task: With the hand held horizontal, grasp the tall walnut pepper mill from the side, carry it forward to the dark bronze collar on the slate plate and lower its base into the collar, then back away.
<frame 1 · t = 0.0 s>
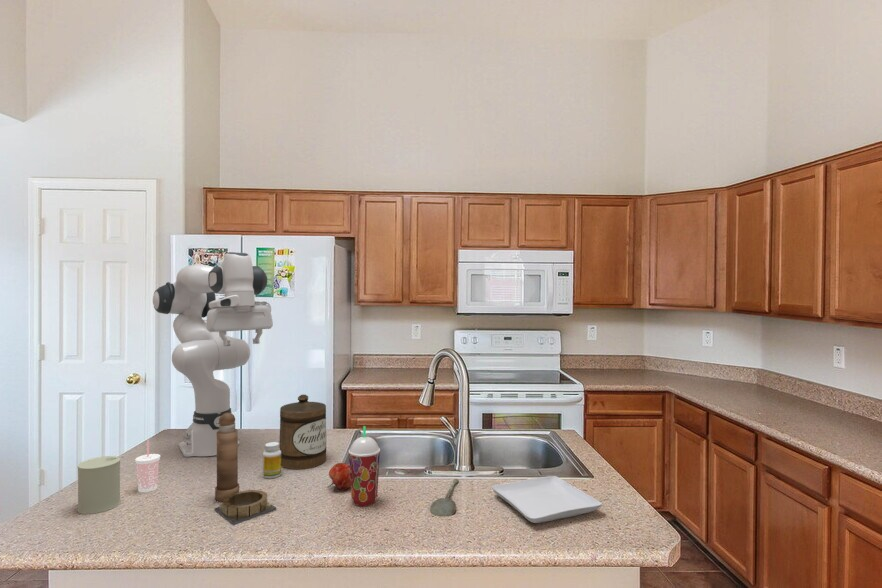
hand: (241, 345, 153), 39 cm above the countertop, tool pointing down, fingers open, 8 cm apart
can: (99, 506, 125), on the countertop
wooden container: (303, 462, 158), on the countertop
pepper mill: (227, 497, 130), on the countertop
smoothie: (364, 502, 128), on the countertop
pomegranate: (341, 488, 137), on the countertop
beverage cup: (147, 489, 136), on the countertop
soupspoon: (449, 500, 130), on the countertop
salad plate: (544, 507, 126), on the countertop
collar socket: (245, 510, 123), on the countertop
supplement bottle: (272, 476, 146), on the countertop
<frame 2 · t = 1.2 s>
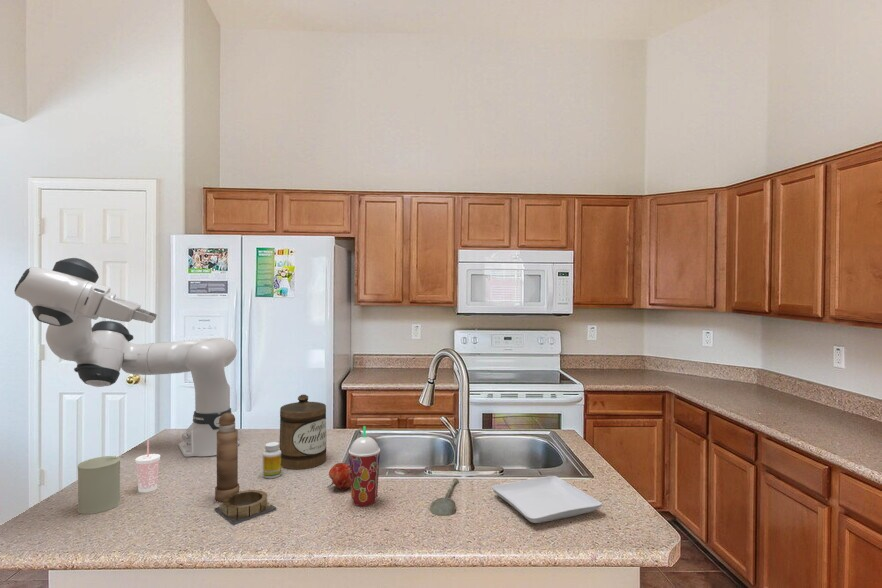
hand: (154, 318, 129), 49 cm above the countertop, tool tilted 70°, fingers open, 8 cm apart
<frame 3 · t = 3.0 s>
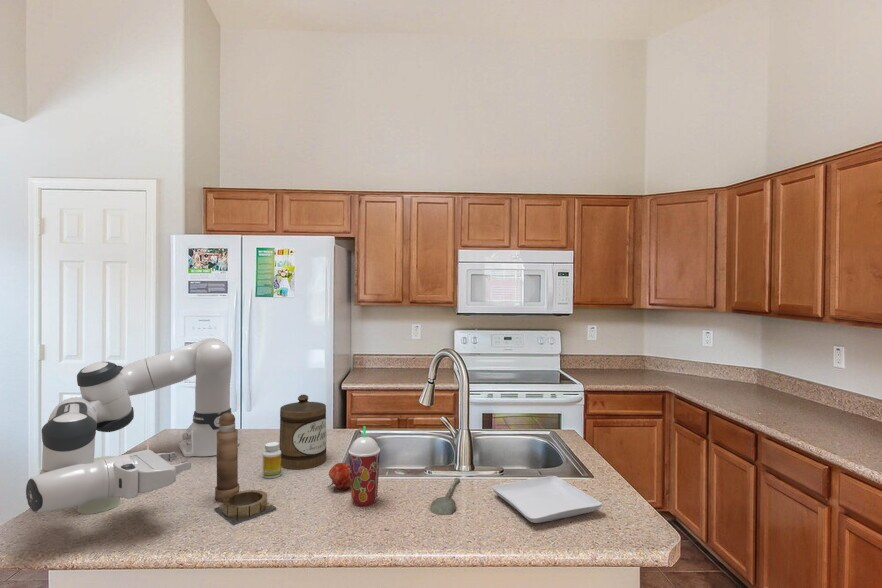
hand: (183, 459, 122), 13 cm above the countertop, tool horizontal, fingers open, 8 cm apart
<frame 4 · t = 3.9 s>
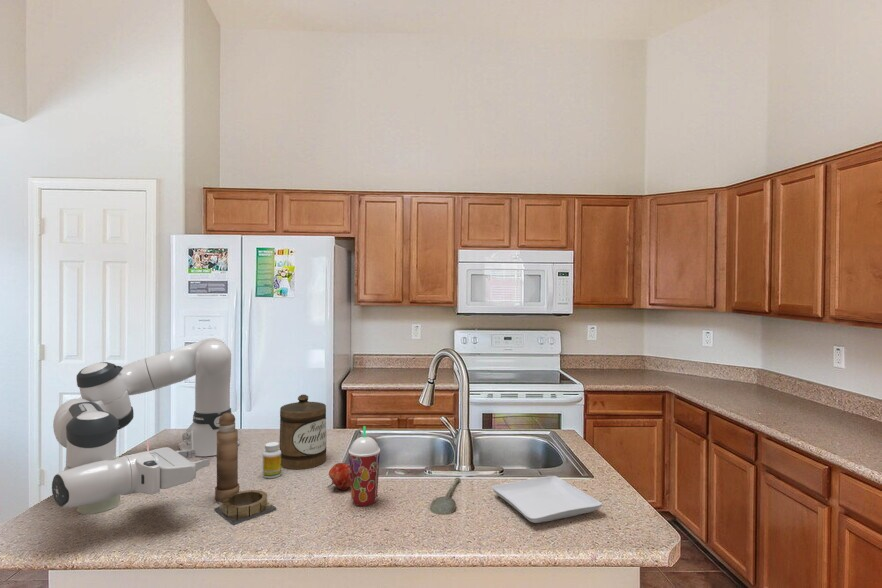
hand: (201, 457, 125), 13 cm above the countertop, tool horizontal, fingers open, 8 cm apart
nothing on the countertop moved.
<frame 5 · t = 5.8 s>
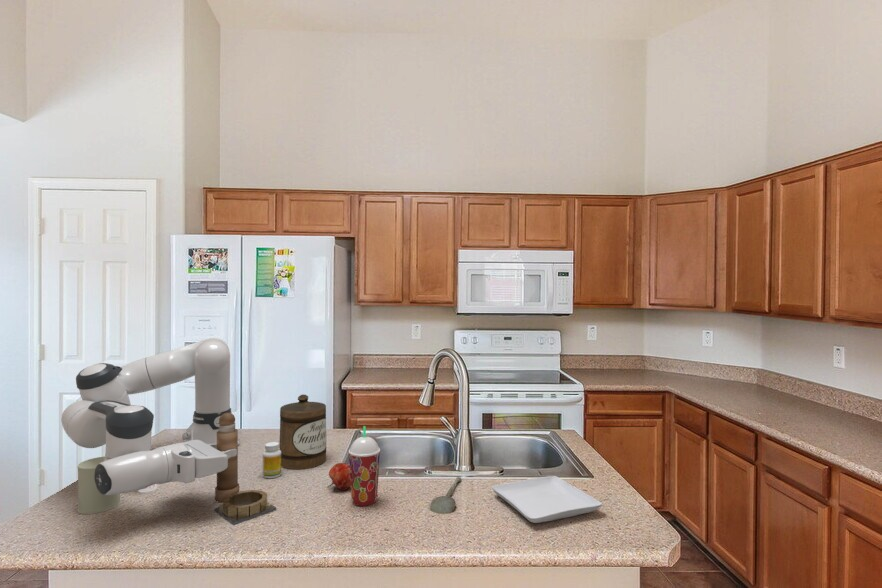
hand: (230, 448, 131), 13 cm above the countertop, tool horizontal, fingers closed on pepper mill, 5 cm apart
pepper mill: (227, 497, 130), on the countertop, touching gripper
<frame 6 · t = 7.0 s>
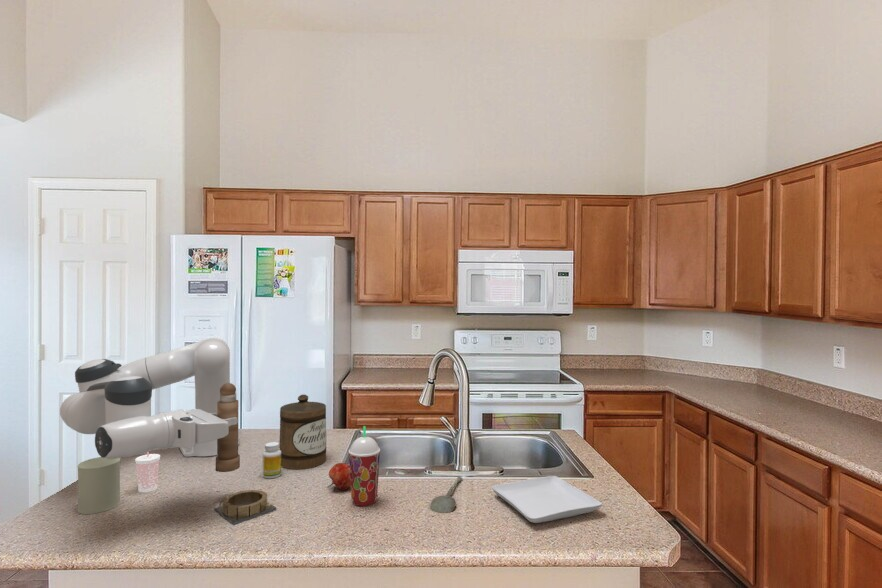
hand: (231, 417, 130), 22 cm above the countertop, tool horizontal, fingers closed on pepper mill, 5 cm apart
pepper mill: (227, 467, 130), point 8 cm above the countertop, touching gripper
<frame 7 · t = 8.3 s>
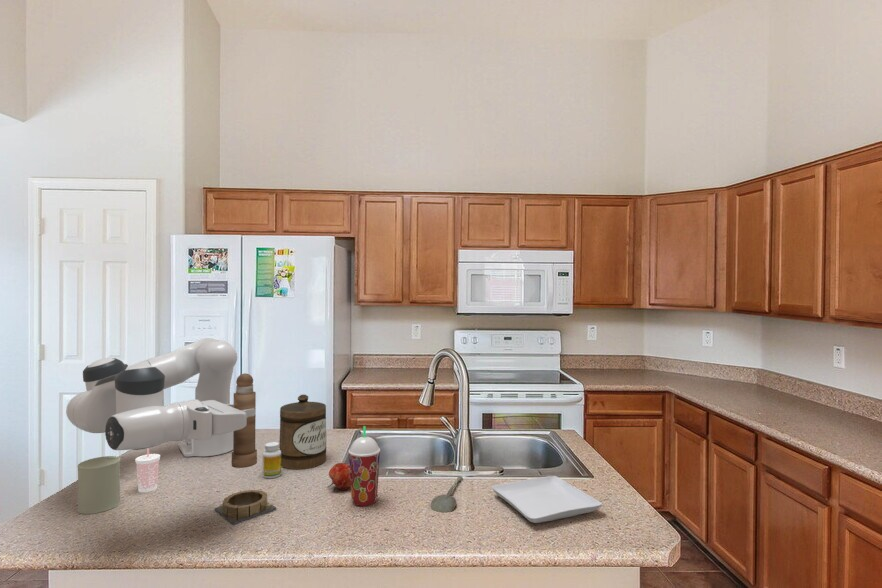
hand: (248, 409, 123), 26 cm above the countertop, tool horizontal, fingers closed on pepper mill, 5 cm apart
pepper mill: (244, 463, 122), point 12 cm above the countertop, touching gripper
when the fingers open (15 cm above the countertop, at t = 10.7 s): pepper mill stays where it is, resting on collar socket.
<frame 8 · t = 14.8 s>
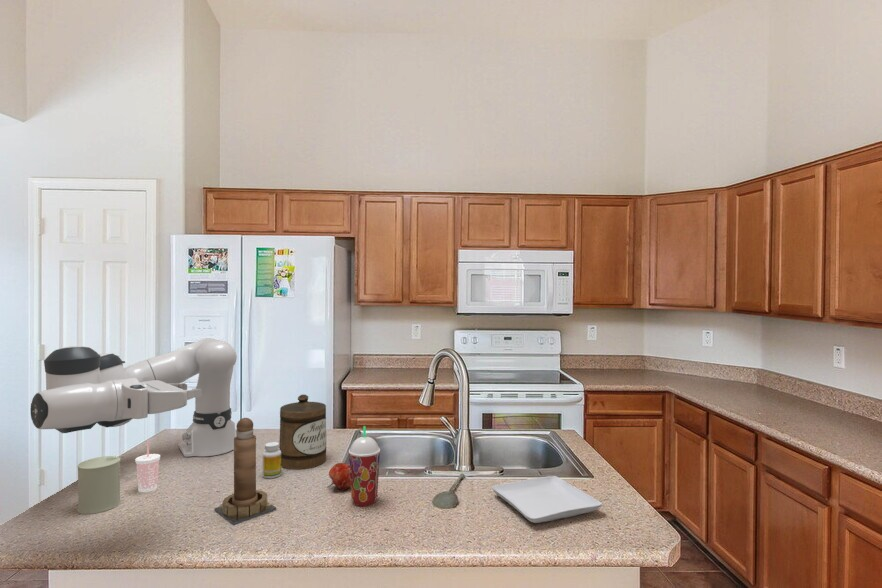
hand: (193, 389, 117), 32 cm above the countertop, tool horizontal, fingers open, 8 cm apart
pepper mill: (245, 507, 123), point 1 cm above the countertop, touching collar socket
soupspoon: (453, 494, 134), on the countertop
everything else where it was.
at the end: pepper mill 0.1 cm from the collar socket (horizontally); pepper mill point 0.6 cm above the countertop; pepper mill tilted 0° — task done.
